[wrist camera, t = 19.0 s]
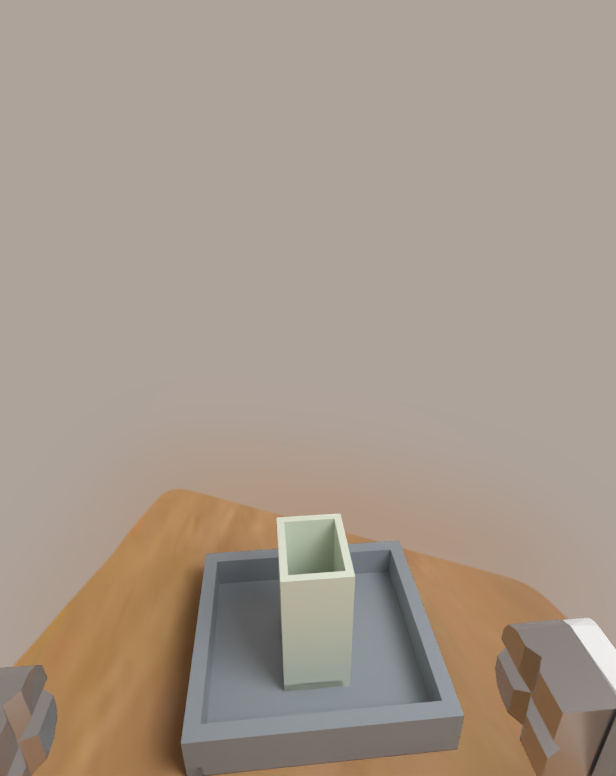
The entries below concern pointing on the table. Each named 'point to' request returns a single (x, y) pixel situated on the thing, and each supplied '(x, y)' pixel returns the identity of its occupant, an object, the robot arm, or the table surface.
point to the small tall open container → (315, 601)
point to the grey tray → (323, 705)
